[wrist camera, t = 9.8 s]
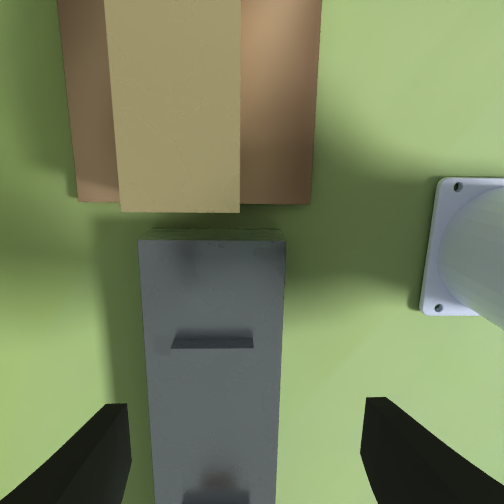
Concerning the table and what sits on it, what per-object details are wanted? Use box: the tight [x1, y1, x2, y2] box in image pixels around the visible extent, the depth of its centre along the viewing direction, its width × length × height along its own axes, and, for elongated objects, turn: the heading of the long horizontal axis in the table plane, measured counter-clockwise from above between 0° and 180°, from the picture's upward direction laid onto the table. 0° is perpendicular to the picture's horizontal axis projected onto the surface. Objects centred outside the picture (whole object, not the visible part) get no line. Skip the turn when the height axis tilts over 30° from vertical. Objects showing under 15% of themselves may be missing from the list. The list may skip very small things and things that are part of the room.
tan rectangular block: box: [104, 0, 241, 213], centre depth 15 cm, size 4×9×5 cm, turn 179°
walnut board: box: [57, 0, 322, 204], centre depth 17 cm, size 12×11×1 cm
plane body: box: [138, 228, 286, 504], centre depth 19 cm, size 7×22×7 cm, turn 179°
